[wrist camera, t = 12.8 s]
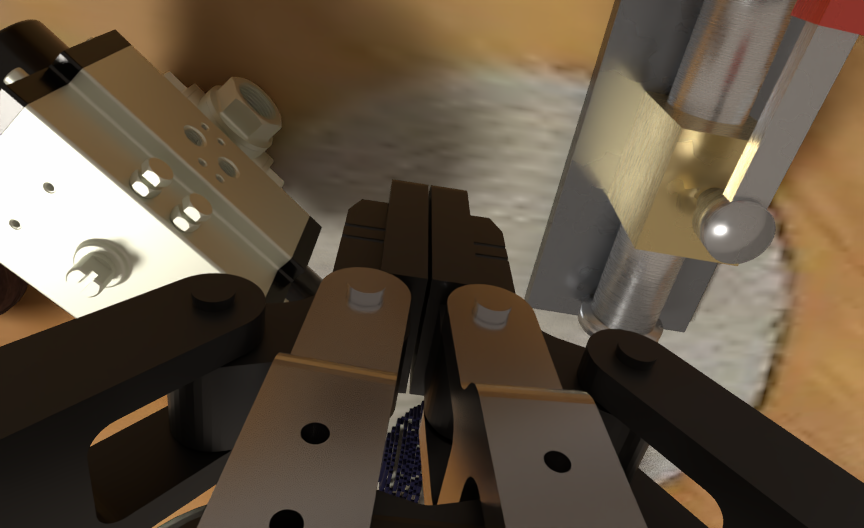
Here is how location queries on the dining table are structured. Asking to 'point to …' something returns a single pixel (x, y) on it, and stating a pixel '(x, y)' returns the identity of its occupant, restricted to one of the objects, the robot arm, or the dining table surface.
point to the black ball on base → (10, 289)
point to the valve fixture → (656, 158)
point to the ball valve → (137, 177)
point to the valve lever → (779, 132)
